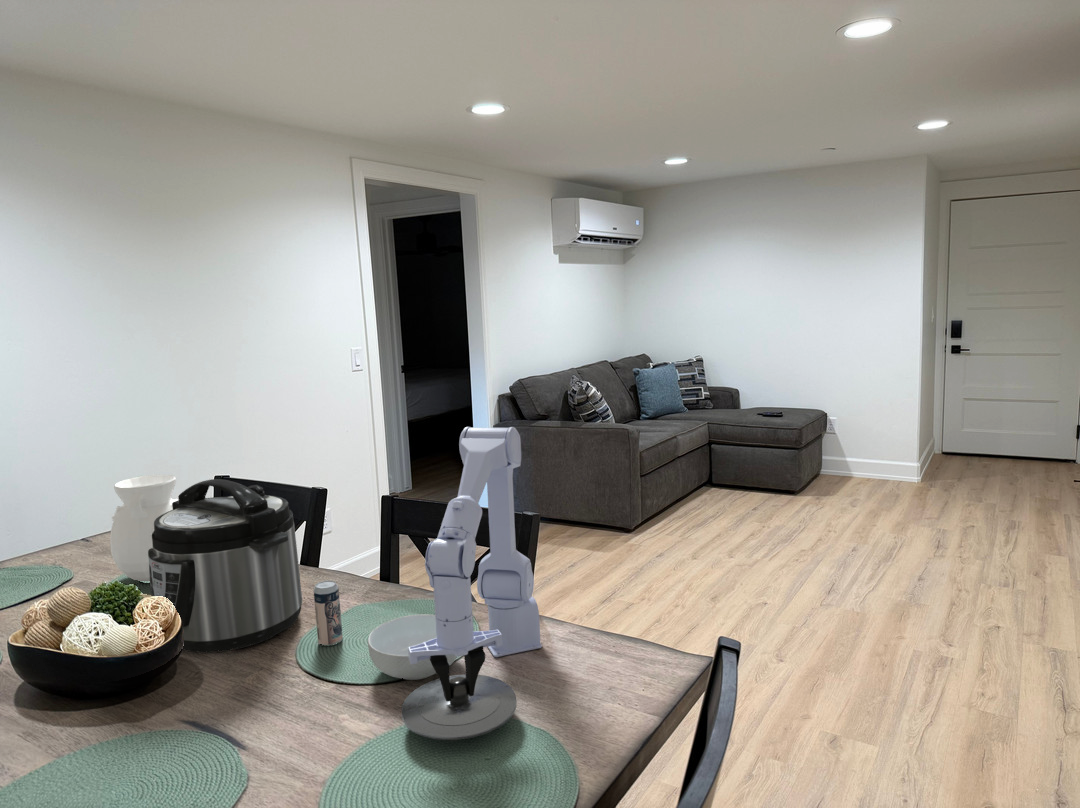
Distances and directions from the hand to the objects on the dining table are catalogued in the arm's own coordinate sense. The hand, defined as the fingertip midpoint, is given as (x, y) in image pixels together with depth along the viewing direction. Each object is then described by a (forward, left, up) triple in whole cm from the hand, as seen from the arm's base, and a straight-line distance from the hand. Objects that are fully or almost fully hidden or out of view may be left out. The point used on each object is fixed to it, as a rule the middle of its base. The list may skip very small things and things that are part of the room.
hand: (458, 695), depth 117 cm
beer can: (+17, -38, -5) cm, 42 cm away
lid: (0, 0, -2) cm, 2 cm away
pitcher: (+55, -94, -5) cm, 109 cm away
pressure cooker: (+36, -53, -5) cm, 64 cm away
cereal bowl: (+3, -20, -5) cm, 21 cm away
